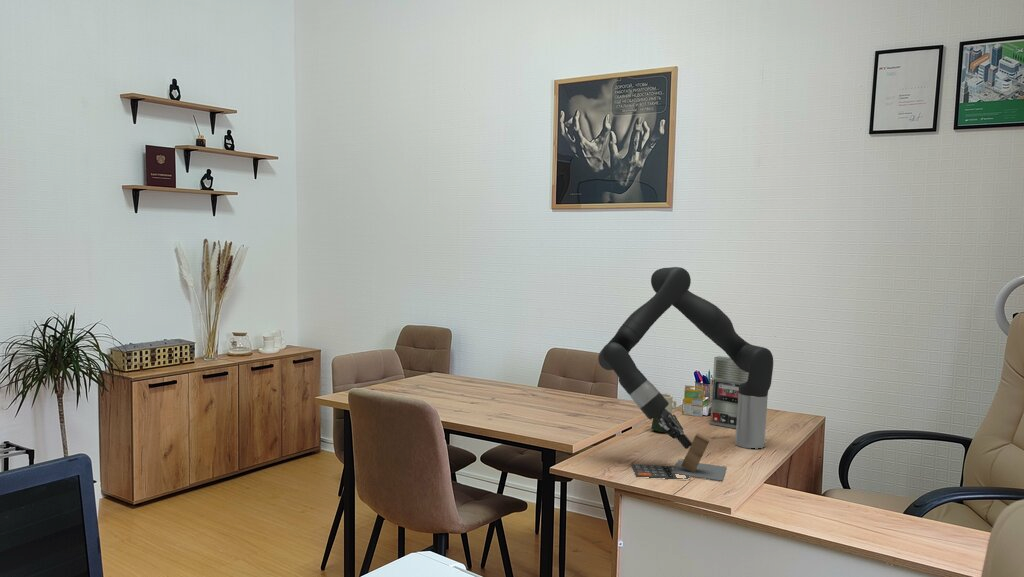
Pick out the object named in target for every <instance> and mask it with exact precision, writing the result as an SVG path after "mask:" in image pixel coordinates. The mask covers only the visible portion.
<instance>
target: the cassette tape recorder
mask: <svg viewBox="0 0 1024 577" xmlns="http://www.w3.org/2000/svg"><path fill="white" fill-rule="evenodd" d="M713 360H714V361H713V373H712V374H713V375H712V376H713V377H712V388H711V389H712V390H711V391H712V394H711V406H710V407H711V408H710V420H709V421H708V422H709V425H711V426H714V425H715V426H719V427H720V426H721V427H725V428H732V429H736V424H737V408H738V393H739V385H740V384H742V383H745V382H747V380H748V375H749V372H745V371H743V370H741V369H740V368H739V367H738V366H737V365H736V364H735V363H734V362H733V360H732V359H731V358H730V357H729V356H720V355H718V356H715V357H714V358H713Z"/></svg>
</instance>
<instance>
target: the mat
mask: <svg viewBox="0 0 1024 577" xmlns="http://www.w3.org/2000/svg"><path fill="white" fill-rule="evenodd" d="M683 461H684V460H680V459H678V460H677V461H676V463H675V465H674V466H675V467H674V469H673V471H672V472H671V473H674V474H679V475H687V476H693V477H692V478H694V477H699V478H698V479H700V478H706V479H705V480H707V479H710V480H709V481H714V480H716V482H720V481H723V480H724V478H725V476H726V475H725V474H726V472H727V471H726V470H727V466H724V465H723V466H722V465H717V464H708V463H702V462H699V464H698V466H697V468H696V470H695V472H694V473H693V472H691V471H689V470H687V469H686V468H684V467H682V466H681V465H682V463H683ZM725 471H726V472H725Z"/></svg>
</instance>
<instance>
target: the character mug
mask: <svg viewBox="0 0 1024 577" xmlns="http://www.w3.org/2000/svg"><path fill="white" fill-rule="evenodd" d="M660 393H661V394H662V396H663V397H664V398H665V399H666V400H667V401H668V403H669V405H668V406H667V407H666V408H665V409H666V410H667V411H668V412H669V413H670V412H671V413H672V412H673V411H672V410H675V409H676V408H677V400H676V399H673V398H674V396H673V395H672V394H668V393H663V392H660ZM658 422H659V421H658V420H657V418H656V417H654V418H653V419H652V422H651V427H650V429H651V430H652V431H655V432H656V433H657V432H659V433H665V432H664V431H663V430H662V429H661V426H660V424H659V423H658Z"/></svg>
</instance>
